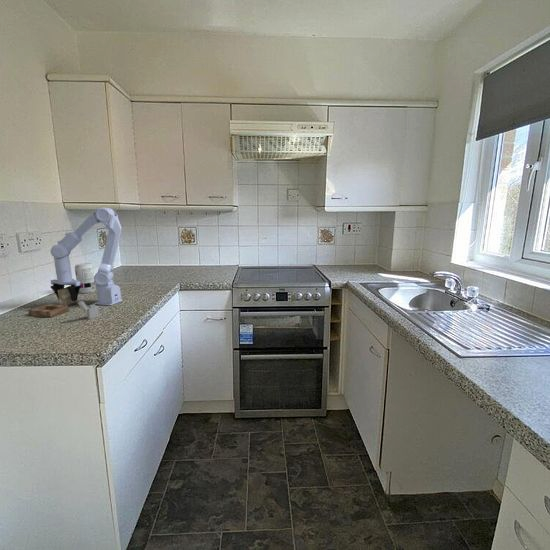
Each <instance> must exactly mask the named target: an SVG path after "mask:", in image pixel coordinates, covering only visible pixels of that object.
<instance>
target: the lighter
mask: <svg viewBox="0 0 550 550" xmlns="http://www.w3.org/2000/svg"><path fill="white" fill-rule="evenodd" d="M77 304H78V305H79V306H80V308H81V310H82V311H83V312H86V317H87V320H92V319H94V318H98V317H100V311H99V306H98V305H96V304H94V303H93V304H89V305H88V306H87V304H86V303H85V301H84V300H80V301H78V302H77Z"/></svg>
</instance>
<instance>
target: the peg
mask: <svg viewBox="0 0 550 550" xmlns="http://www.w3.org/2000/svg"><path fill="white" fill-rule="evenodd" d="M58 296H59V300H58V302H59V305H64V306H68V307H71V306H75V305H77V304H78V302H77V301H78V300H77V301H72V300H71V295H70V293H69V290H68V289H67V287H64V288H63V289H60V290H58Z"/></svg>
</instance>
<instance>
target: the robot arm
mask: <svg viewBox="0 0 550 550" xmlns="http://www.w3.org/2000/svg"><path fill="white" fill-rule="evenodd" d="M100 223H102V225H104V226H105V228H106V229H107V230H108V233H107V237H106V241H105V245H104V251H103V255H102V258H101V263H100V265H99V267H98V270H97V272H96V273H95V274H94V281H95V287H96V293H97V301H96V302H94V303H93V304H95V305H101V306H102V305H104V306H113V305H116V304H118V303H120V302H123V299H122V293H121V288H120V286H119V285H117V284H115V283H114V280H113V279H114V277H115V274H114V262H115V260H116V259H115V258H116V254H117V252H118V251H117V250H118V246H119V242H120V238H121V234H122V230H123V228H122V225H121V222H120V220H119V216H118V213H117V212H116V211H115V210H114V209H113V208H110V207H103V206H101V207H98V208H97V209H96V210H95V211H93V212H92V213H91V214H90V215H89V216H88V217H87V218H86V219H85V220H84V221H83V222H82V223H81V224H80V225H79V227H78V228H76V230H75V231H69V232H66V233H65V234H64V235H65V236H64V237H63V238H62V239H61V240H58V241H57V244H54V245H52V247H51V248H50V254H51V256H52V257H53V259H54V267H55V268H54V269H55V274H56V279H50V289H52V291H53V292H54V294H55V295H56V297H57V299H58V301H59V296H58V290H60V289H63V288H65V286H66V288H67V289H68V290H69V293H70V295H71V300H72V301H78V297H79V294H80V293H79V290H80V288H81V285H80V281H76V279H74V278H73V273H72V267H71V259H70V255H71V251H73V250H74V249H75V248H76V247H77V246H78V245H79V244H80V242H82V240H83V239H82V237H83V236H84V235H85V234H86V233H87V232H88V231H89V230H91V229H92V228H93V227H94V226H95V225H97V224H100Z"/></svg>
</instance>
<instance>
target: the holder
mask: <svg viewBox="0 0 550 550" xmlns="http://www.w3.org/2000/svg"><path fill="white" fill-rule="evenodd" d="M69 307H70V306H69ZM69 307H68V306H64V305H60V304H51V303H46V304H44V305H40V306H35V307H33V308H30V309H28V316H32V317H41V318H53V317H56V316H57V317H58V316H60V315H62V314H66V313H68V312H70V309H69Z"/></svg>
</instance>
